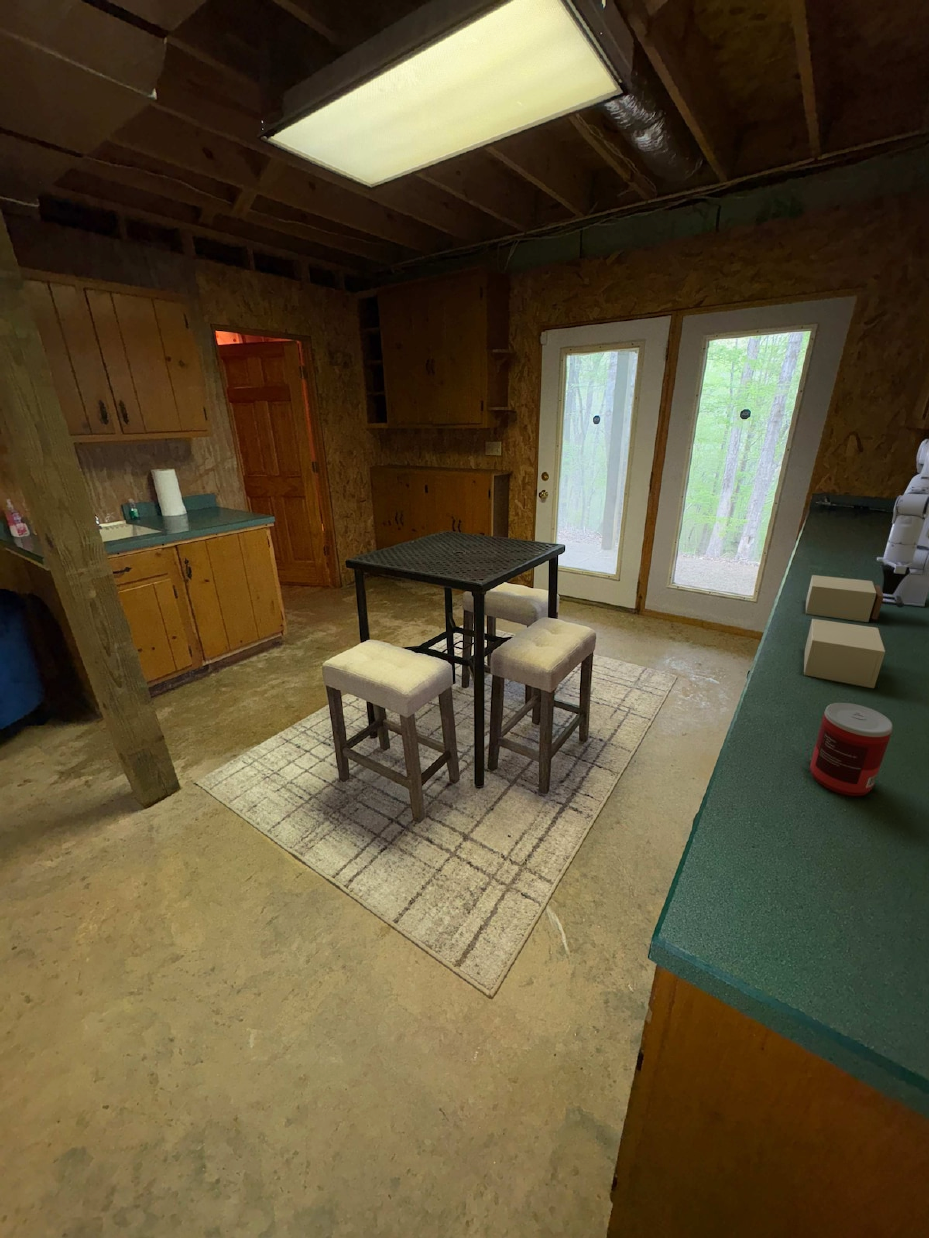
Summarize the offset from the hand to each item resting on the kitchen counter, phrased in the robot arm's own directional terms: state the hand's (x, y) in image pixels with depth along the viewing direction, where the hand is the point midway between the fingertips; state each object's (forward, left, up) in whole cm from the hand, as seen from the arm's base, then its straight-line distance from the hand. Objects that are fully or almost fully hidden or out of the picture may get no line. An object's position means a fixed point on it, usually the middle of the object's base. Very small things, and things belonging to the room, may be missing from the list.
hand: (887, 593), depth 127 cm
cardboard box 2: (+11, +40, -7) cm, 42 cm away
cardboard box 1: (+10, 0, -7) cm, 12 cm away
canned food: (+12, +82, -7) cm, 83 cm away
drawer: (+5, 0, -6) cm, 8 cm away
